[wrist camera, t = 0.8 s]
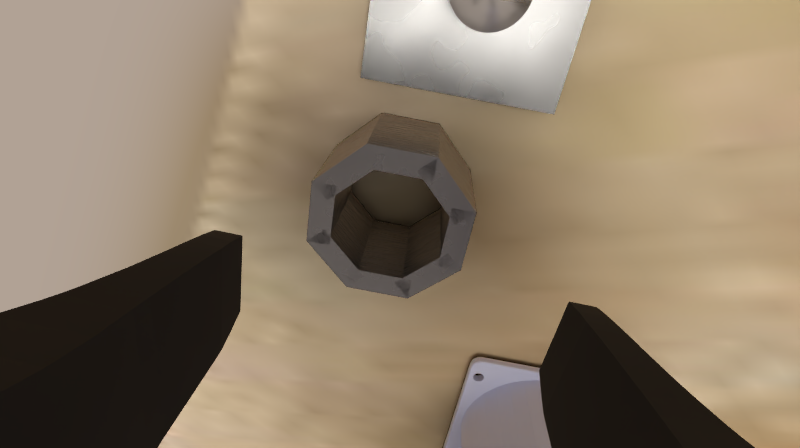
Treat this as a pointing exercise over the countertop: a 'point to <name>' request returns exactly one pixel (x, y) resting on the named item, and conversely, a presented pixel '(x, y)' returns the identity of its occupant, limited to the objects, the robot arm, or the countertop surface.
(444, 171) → the octagonal tube
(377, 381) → the countertop surface
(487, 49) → the square base with peg
